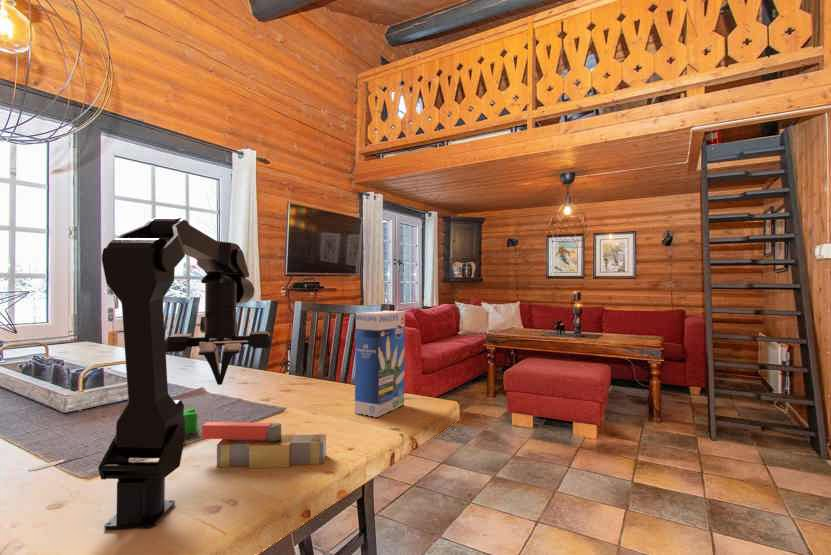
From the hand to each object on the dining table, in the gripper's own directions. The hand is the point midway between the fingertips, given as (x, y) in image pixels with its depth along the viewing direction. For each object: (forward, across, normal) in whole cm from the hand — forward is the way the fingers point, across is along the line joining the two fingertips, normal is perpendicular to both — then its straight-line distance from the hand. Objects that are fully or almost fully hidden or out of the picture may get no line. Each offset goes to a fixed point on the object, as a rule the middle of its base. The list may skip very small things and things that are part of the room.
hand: (220, 384), depth 85 cm
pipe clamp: (+13, +8, -10) cm, 19 cm away
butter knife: (+14, +20, -8) cm, 25 cm away
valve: (+13, -10, +9) cm, 19 cm away
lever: (+9, -5, +7) cm, 12 cm away
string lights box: (+13, -37, -16) cm, 43 cm away
